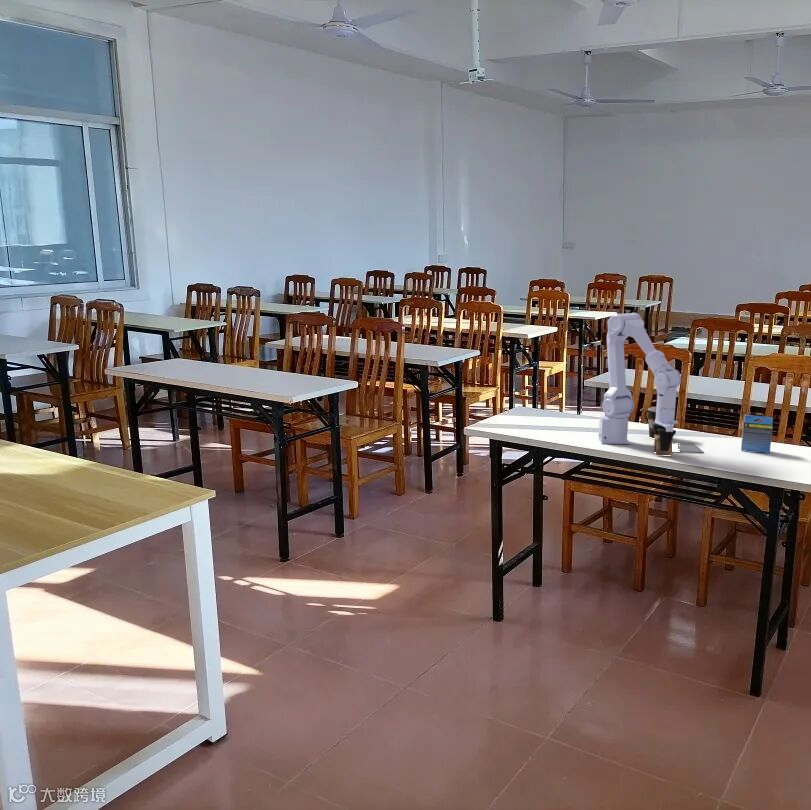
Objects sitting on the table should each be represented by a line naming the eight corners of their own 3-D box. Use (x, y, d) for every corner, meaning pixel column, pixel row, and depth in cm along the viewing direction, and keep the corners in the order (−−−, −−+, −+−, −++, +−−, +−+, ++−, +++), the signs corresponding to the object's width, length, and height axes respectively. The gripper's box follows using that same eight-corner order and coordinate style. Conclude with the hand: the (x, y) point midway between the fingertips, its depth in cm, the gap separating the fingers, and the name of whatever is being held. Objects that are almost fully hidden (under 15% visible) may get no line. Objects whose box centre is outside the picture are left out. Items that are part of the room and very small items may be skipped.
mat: (666, 452, 271) (666, 451, 271) (658, 443, 283) (658, 442, 283) (703, 453, 271) (703, 452, 271) (694, 444, 282) (694, 443, 282)
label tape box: (769, 451, 275) (773, 414, 272) (769, 454, 271) (773, 417, 268) (740, 448, 278) (744, 412, 275) (740, 451, 274) (744, 414, 272)
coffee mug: (674, 440, 287) (676, 412, 285) (649, 440, 287) (651, 412, 285) (665, 433, 298) (667, 406, 296) (641, 432, 299) (642, 405, 297)
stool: (655, 455, 267) (657, 437, 265) (652, 452, 271) (654, 434, 270) (671, 456, 266) (673, 438, 265) (668, 452, 271) (669, 435, 269)
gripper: (684, 412, 258) (681, 454, 261) (673, 403, 272) (669, 443, 275) (661, 411, 259) (658, 454, 261) (651, 402, 273) (648, 443, 276)
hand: (662, 448), depth 268 cm, fingers closed on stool, 4 cm apart
